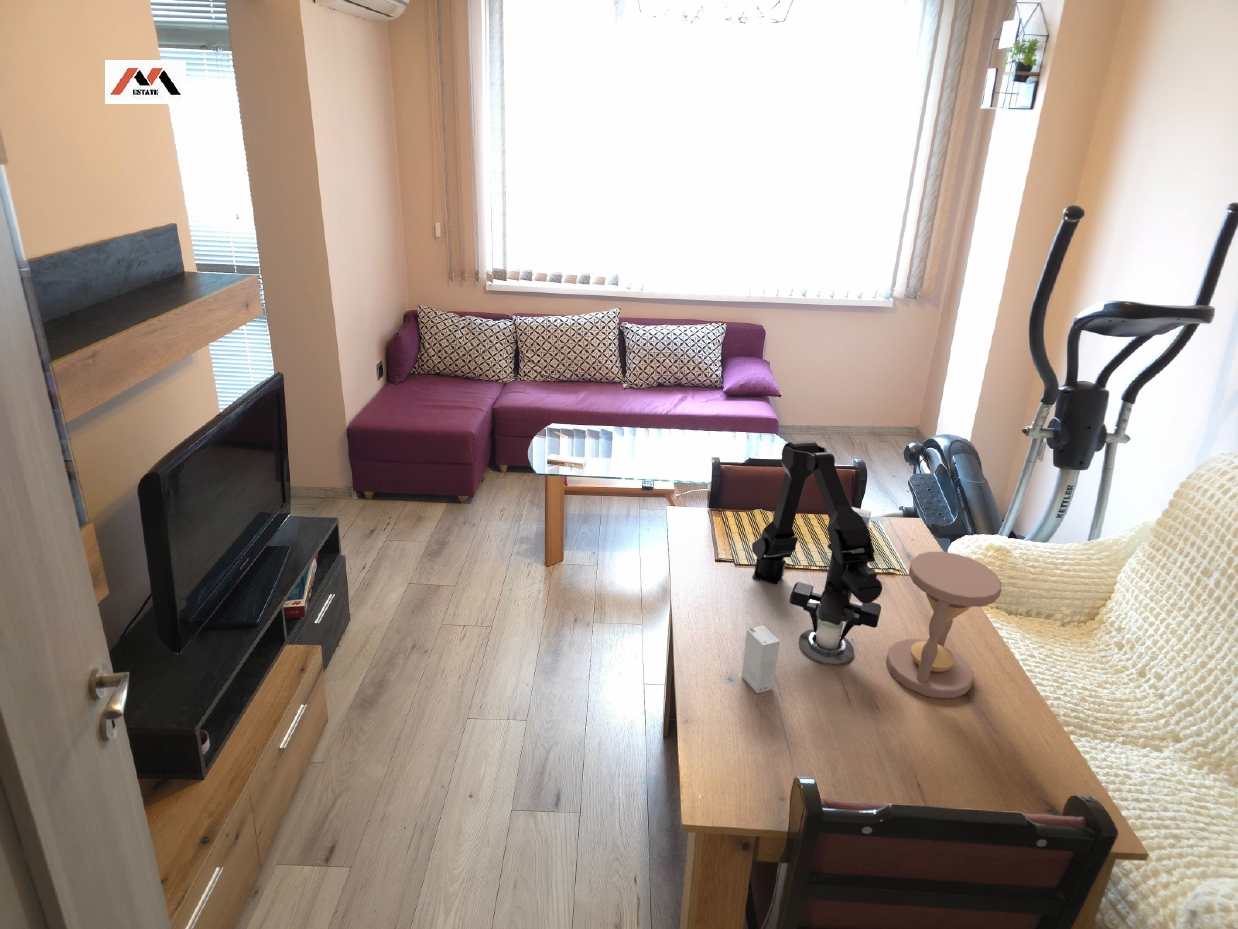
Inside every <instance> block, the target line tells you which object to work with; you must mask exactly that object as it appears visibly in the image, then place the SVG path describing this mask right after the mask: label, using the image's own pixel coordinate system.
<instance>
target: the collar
mask: <svg viewBox="0 0 1238 929" xmlns="http://www.w3.org/2000/svg"><path fill="white" fill-rule="evenodd" d="M817 630H818V629H817ZM816 635H817V632H816V633H814V629H813V628H812V629H809V630H807V631H804V632H803V633H801V635H800V636H799V638H798V648H799V649H800V651H801V652H802V653H803V654H804V655H805V656H806V657H808V658H809V659H811V660H812V661H814V662H816V663H819V664H823V665H828V666H840V665H844V664H847V663H849V662H850V661H851V660H852V659H853V657H854V653H855V648H854V646H853V644H852V643H851V641H850V640H849V639H847V638H846V636H845V637H844V639H843V640H842V641H839V645H838V648H837V649H835V650H825V649H823V648H821V647H819V646H818V645H817V644H816V642H815V640H816ZM840 638H841V636H840Z"/></svg>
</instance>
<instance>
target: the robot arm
mask: <svg viewBox="0 0 1238 929" xmlns="http://www.w3.org/2000/svg"><path fill="white" fill-rule="evenodd" d="M835 460H836V459H835V456H834V454H833V453H832V452H829V451H828V448H827V447H823V446H822V445H818V443H817V442H816V441H815V440H805V441H802V440H800V441H799V440H798V441H788V442H787V443H784V446H783V447H782V450H781V461H780V462H781V466H782V467H783V470H784V472H785V473H784V476H783V479H782V480H783V481H782V484H781V488H780V491H779V495H778V498H777V503H776V506H775V511H774V513H773V518H772V521H771V522H769V523H768V524H767V525H766V526H765V527H764V528H763V530H762V532H761V535H760V537H759V538H758V539H756V540H755V541H753V542H752V544H751V551H752V553H753V554H754V555H755V557H756V562H755V565H754V566H755V568H754V571H753V574H752V576H751V577H752V578H753V579H757V580H760V581H764V582H767V583H771V584H774V585H778V584H779V582H780V580H782V579H783V576H784V574H785V567H786V560H785V558H791V557H792V554H793V553H794V551H796V547H797V544H798V541H799V539H798V537H797V535H796V534H795V532H794V528H793V527H794V524H795V520H796V515H797V513H798V509H799V505H800V502H801V500H802V499H801V498H802V494H803V491H804V488H805V485H806V481H807V479H808V478H809V477H810V476H811V475H812V474H813V477H814V479H815V482H816V485H817V488H818V490H819V493H820V496H821V499H822V501H823V504H824V507H825V509H826V511H827V514H828V518H829V520H828V524H827V526H826V527H827V528H826V531H827V534H828V538H829V539H828V541H829V543H828V544H827V548H828V549H829V551H831V555H830V559H829V564H828V570H827V574H826V579H825V580H826V581H825V584H824V589H823V591H822V593H816V592H814V586H813V585H812V584H808V583H803V582H801V581H798V582H796V583H794V585H793V588H792V590H791V593H790V595H789V596H790V597H789V604H790V605H793V606H795V607H796V606H797V607H800V608H802V610H803V611H805V612H807V613H809V616H810V619H811V624H812V630H813V629H814V633H816V632H817V629H818V625H819V619H820V620H821V621H826V622H829V623H833V624H834V625H840V624H841V622H842V621H843V623H845V624H844V625H843V628H842V631H841V638H840V641H842V640H843V639H844V637H845V638H846V636H847V635H848V634H849V632H850V631H851V630H852V628H854V627H855V626H856V627H857V626H858V627H861V626H862V625H863V626H867V627H870V628H873V629H874V628H878V623H879V619H880V616H881V612H882V606H881V604H880V603H877V602H875V600H877V599H878V598H879V597H880V596H881V594H882V593H883V592H882V591H883V583H882V582H881V581H880V580H879V579H878V573H877V572H876V571H875V570H874V569H872V568H871V567H870V566H869V565H868V563H873V562H875V561H876V560H875V553H876V552H875V549H874V544H873V542H872V536H871V533H870V532H871V531H870V530H869V527H868V528H867V526H866V524H865V522H864V520H863V518H862V517H861V516H860V515H859V514H858V513H856V512H855V511H854V510H853V509H852V507H853V506H852V505H851V504H850V501H849V498H848V495H847V493H846V490H845V488H844V485H843V482H842V480H841V477H840V476H839V472H838V470H837V468H836V461H835ZM860 549H864V552H863V553H854V552H853V551H852V550H860ZM852 595H853V596H854V597H855V598H856V599H857V600H858V601H859V602H851V599H852Z"/></svg>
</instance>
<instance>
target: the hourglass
mask: <svg viewBox="0 0 1238 929" xmlns="http://www.w3.org/2000/svg"><path fill="white" fill-rule="evenodd" d="M908 576H909V577H910V579H911V581H912V583H913V584H915V585H916V587H917V588H918V589H919V590H921V591H922V592H923V593H925V596H926V598H927V600H928V602H929V604H930V607H931V609H932V611H933V614H932V616H931V617H930V621H929V624H928V633H929V635H928V636H929V638H927V639H922V638H921V639H920V638H906V639H905V638H904V639H903V640H899V641H896V642H894V643H893V644H892V645H891V646H890V647H889V648H888V652H887V656H886V662H885V663H886V665H887V668H888V671H889V673H890V674H891V675H892V677H893V678H894V679H895V680H896V681H897V682H898V683H900V684H901V685H902V686H905V688H907V689H909V690H910V691H913V692H916V693H918V694H921V695H923V696H927V697H930V698H935V699H941V700H942V699H956V698H958V697H961V696H964V695H965V694H967V692H968V691H969V690H970V689H971V688H972V685H973V678H974V677H973V676H974V672H973V669H972V667H971V666H970V664H969V662H968V661H967V660H966V659H965V658H963V656H962V655H960V653H958V652H956V651H955V650H952V648H949V647H948V646H945V644H946V640H947V638H948V637H947V636H948V634H949V633H950V631H951V629H952V626H953V622H954V621H953V620H954V619H955V618H956V617H959V616H961V615H962V614H963V613H965V612H967V611H968V610H969V609H970V608H971V607H972V608H973V607H977V608H978V607H985V606H988V605H992V604H993V603H995V602H996V601H997V600H998V599H999V598H1000V596H1001V593H1002V581H1001V580H1000V578H999V576H998V575H997V574H996V572H994V571H993V570H992V569H991V568H989V567H988V566H986V565H985V564H983V563H981V562H979V561H977V560H975V559H974V558H970V557H967V556H964V555H962V554H958V553H953V552H946V551H928V552H923V553H919V554H917V555H916V556H915V557H913V558H912V559H911V561H910V566H909V570H908Z"/></svg>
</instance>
